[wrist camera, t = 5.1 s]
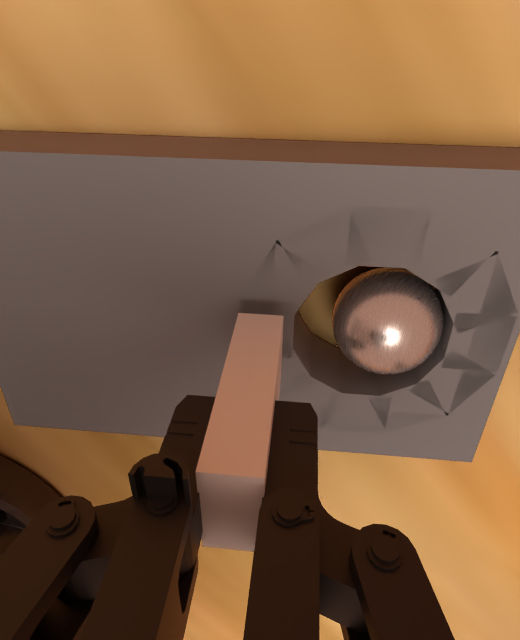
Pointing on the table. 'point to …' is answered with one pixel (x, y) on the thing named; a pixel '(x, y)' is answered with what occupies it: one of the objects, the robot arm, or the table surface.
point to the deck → (249, 277)
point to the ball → (387, 320)
